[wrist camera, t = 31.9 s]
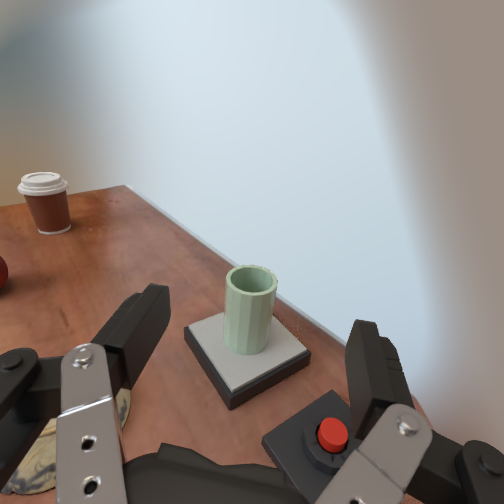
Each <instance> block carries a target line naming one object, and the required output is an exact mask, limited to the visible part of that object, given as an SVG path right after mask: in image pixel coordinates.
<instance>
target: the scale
mask: <svg viewBox="0 0 504 504" xmlns="http://www.w3.org/2000/svg"><path fill="white" fill-rule="evenodd" d="M223 326H224V312H222V313H220V314H217V315H214V316H212V317H209V318H207V319H204V320H201V321H199V322H196V323H193V324H191V325H189V326H187V327H184V339H185V341H186V342H187V344H188V346H189V347H190V349H191V350H192V352H193V353H194V355H195V357H196V358H197V360H198V361H199V363H200V365H201V366H202V368H203V369H204V371H205V372H206V374H207V376H208V377H209V379H210V380H211V382H212V383H213V385H214V387H215V388H216V390H217V391H218V393H219V395H220V396H221V398H222V399H223V401H224V402H225V404H226V406H227V407H228V409H229V410H232V409H233V408H235V407H237V406H238V405H240V404H242V403H244V402H245V401H247V400H249V399H250V398H252V397H254V396H255V395H257V394H259V393H261V392H262V391H264V390H266V389H267V388H269V387H271V386H273V385H274V384H276V383H278V382H279V381H281V380H283V379H285V378H286V377H288V376H290V375H291V374H293V373H295V372H297V371H298V370H300V369H302V368H303V367H305V366H307V365H308V364H309V361H310V357H311V352H310V351H309V350H308V349H307V348H306V347H305V346H304V345H303V344H302V343H301V342H300V341H299V340H298V339H297V338H296V337H295V336H294V335H293V334H292V333H291V332H290V331H289V330H288V329H287V328H286V327H284V326H283V325H282V324H281V323H280V322H279V321H278V320H277V319H276V318H275V317H274V316H273V315H272V321H271V328H270V334H269V340H268V344H267V346H266V347H265V348H264V349H263V350H262V351H261V352H259V353H257V354H253V355H242V354H238V353H235V352H233V351H232V350H230V349H229V348H228V347H227V346H226V344H225V342H224V339H223Z"/></svg>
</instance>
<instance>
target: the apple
mask: <svg viewBox="0 0 504 504" xmlns="http://www.w3.org/2000/svg"><path fill="white" fill-rule="evenodd" d="M7 279H8V268H7V265H6V263H5V261H4V260H3V258H2V257H1V256H0V289H1V288H2V287H3V286H4V285H5V283H6V281H7Z"/></svg>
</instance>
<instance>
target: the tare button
mask: <svg viewBox="0 0 504 504" xmlns="http://www.w3.org/2000/svg"><path fill="white" fill-rule="evenodd" d="M347 439H348V431H347V429H346V427H345V425H344V424H343V423H342V422H341V421H339V420H338V419H336V418H326V419H324V420H323V421H322V423H321V425H320V428H319V431H318V440H319V442H320V444H321V446H322V447H323V448H324V449H325V450H327V451H329V452H331V453H338V452H340V451H342V449H343V448H344V446H345V444H346V441H347Z"/></svg>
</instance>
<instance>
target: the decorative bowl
mask: <svg viewBox="0 0 504 504" xmlns="http://www.w3.org/2000/svg"><path fill="white" fill-rule="evenodd" d="M116 399H117V405H118V411H119V417H120V423H121V429H122V428H123V426H124V425H125V422H126V420H127V417H128V413H129V410H130V404H131V395H130V390H127V389H122V388H121V389H120V391H119V393H118V394H117V396H116ZM56 419H57V418H54V419H50V421H49V422H48V424H47V425H46V427H45V428H44V430H43V431H42V433H41V434H40V435H39V437H38V438H37V440H36V441H35V443H34V444H33V446H32V447H31V449H30V450H29V451H28V453H27V454H26V456H25V457H24V459H23V460H22V462H21V463H20V465H19V466H18V467H17V469H16V470H15V472H14V473H13V475H12V476H11V478H10V479H9V481H8V482H7V483H6V485H5V486H4V488H3V489H2V491H1V492H0V493H4V494H10V493H11V492H12V491H14V492H15V493H18V494H33V493H40V492H43V491H46V490H48V489H50V488H53V487H55V486H56Z"/></svg>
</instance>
